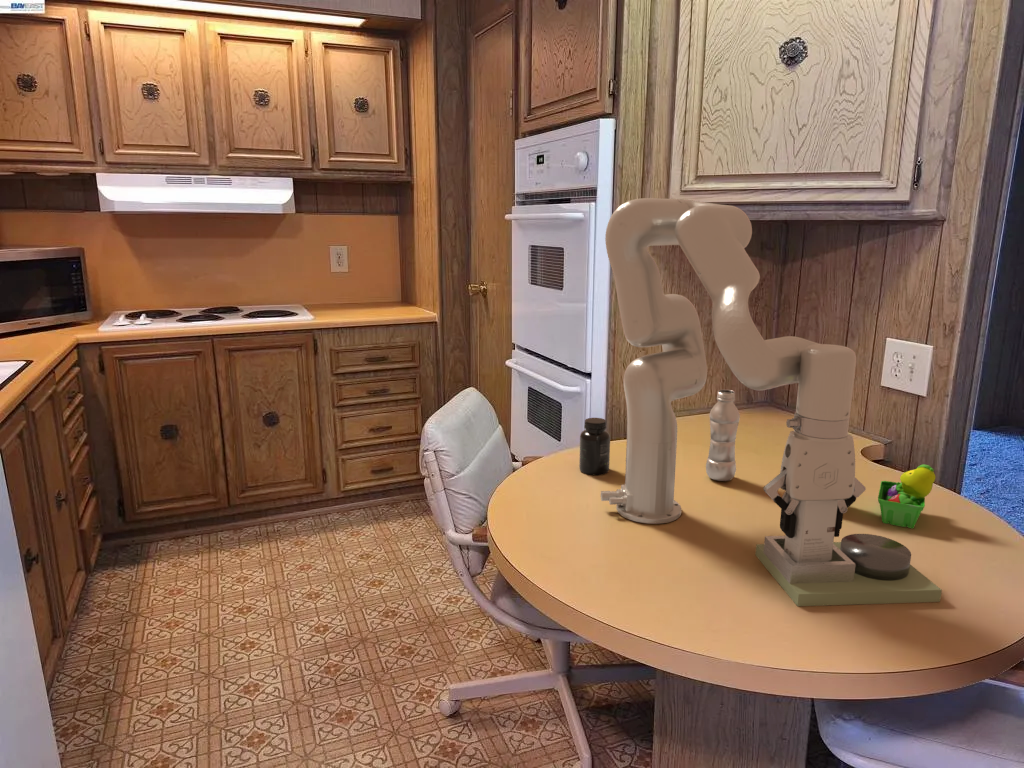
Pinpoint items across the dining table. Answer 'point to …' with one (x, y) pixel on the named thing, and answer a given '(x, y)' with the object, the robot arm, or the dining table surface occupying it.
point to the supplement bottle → (594, 447)
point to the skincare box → (813, 532)
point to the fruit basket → (906, 496)
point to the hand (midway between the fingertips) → (809, 532)
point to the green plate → (850, 573)
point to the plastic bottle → (723, 437)
